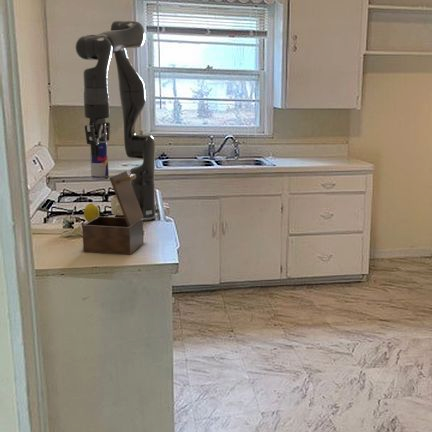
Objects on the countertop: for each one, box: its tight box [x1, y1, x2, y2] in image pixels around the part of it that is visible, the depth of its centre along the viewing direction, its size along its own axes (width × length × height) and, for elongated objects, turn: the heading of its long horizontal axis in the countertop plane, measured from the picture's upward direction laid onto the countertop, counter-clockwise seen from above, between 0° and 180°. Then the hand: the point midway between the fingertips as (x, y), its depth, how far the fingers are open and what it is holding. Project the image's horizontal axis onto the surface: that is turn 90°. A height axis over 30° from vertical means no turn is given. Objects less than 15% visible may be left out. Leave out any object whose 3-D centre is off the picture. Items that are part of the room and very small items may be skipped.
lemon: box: [83, 202, 100, 222], centre depth 219 cm, size 6×6×8 cm
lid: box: [108, 170, 144, 227], centre depth 186 cm, size 16×13×5 cm
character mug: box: [110, 194, 125, 218], centre depth 209 cm, size 11×7×13 cm, turn 176°
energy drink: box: [89, 141, 110, 181], centre depth 185 cm, size 5×5×12 cm
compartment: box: [81, 215, 145, 255], centre depth 190 cm, size 16×13×9 cm
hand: (99, 155), depth 185 cm, fingers closed on energy drink, 5 cm apart
